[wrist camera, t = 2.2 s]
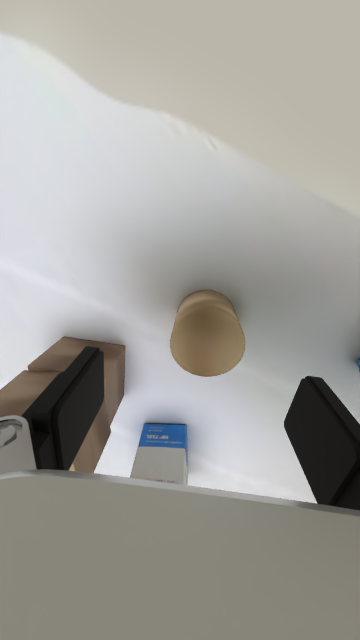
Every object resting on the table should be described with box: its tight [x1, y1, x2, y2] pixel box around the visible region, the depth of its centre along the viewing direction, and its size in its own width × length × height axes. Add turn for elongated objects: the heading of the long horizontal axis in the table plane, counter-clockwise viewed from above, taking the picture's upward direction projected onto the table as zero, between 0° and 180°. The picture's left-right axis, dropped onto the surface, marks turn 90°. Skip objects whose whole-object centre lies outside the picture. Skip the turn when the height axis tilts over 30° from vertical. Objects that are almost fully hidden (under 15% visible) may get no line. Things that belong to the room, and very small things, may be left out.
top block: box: [0, 370, 111, 473], centre depth 16 cm, size 6×6×5 cm
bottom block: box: [28, 337, 125, 425], centre depth 21 cm, size 6×6×5 cm
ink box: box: [130, 424, 188, 485], centre depth 20 cm, size 8×5×15 cm, turn 2°
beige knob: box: [170, 290, 245, 377], centre depth 18 cm, size 5×5×5 cm
